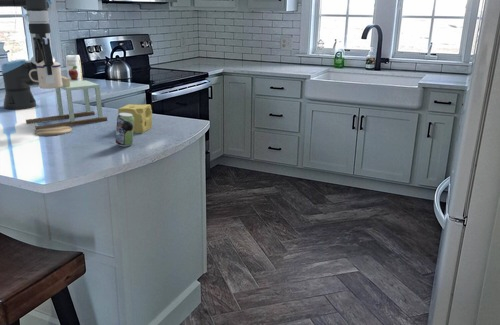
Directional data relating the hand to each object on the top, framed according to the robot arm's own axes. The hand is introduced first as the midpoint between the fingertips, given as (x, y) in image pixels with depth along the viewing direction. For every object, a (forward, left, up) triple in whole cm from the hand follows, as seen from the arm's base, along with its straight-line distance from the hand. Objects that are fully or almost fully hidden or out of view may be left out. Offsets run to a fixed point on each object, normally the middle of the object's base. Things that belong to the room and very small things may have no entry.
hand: (46, 82), depth 189 cm
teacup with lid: (-1, 0, -2) cm, 2 cm away
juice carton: (-126, +50, -21) cm, 137 cm away
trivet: (0, 0, -20) cm, 20 cm away
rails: (-15, +10, -20) cm, 27 cm away
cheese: (+18, +28, -21) cm, 39 cm away
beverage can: (+38, +15, -20) cm, 46 cm away
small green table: (-15, +16, -19) cm, 29 cm away
